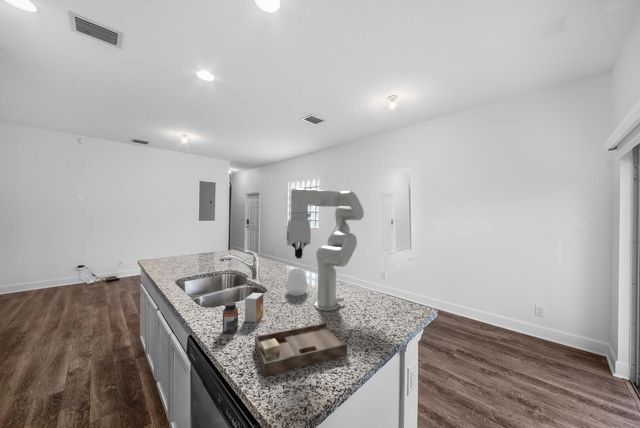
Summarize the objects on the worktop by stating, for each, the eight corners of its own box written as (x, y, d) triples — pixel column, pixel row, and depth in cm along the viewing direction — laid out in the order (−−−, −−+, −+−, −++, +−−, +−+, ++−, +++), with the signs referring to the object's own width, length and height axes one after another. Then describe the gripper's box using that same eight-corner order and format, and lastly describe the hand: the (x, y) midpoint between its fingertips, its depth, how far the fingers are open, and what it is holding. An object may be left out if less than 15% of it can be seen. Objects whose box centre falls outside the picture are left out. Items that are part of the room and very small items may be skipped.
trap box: (325, 332, 102) (325, 322, 101) (347, 355, 86) (347, 344, 86) (254, 347, 90) (254, 336, 90) (264, 377, 74) (264, 363, 74)
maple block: (274, 346, 86) (274, 338, 86) (279, 354, 82) (279, 345, 81) (260, 350, 83) (260, 341, 83) (264, 358, 79) (265, 349, 79)
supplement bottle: (225, 327, 104) (225, 300, 104) (239, 326, 105) (239, 300, 105) (220, 334, 99) (220, 306, 98) (235, 333, 99) (236, 306, 99)
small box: (255, 322, 109) (256, 299, 109) (244, 321, 110) (244, 298, 110) (263, 315, 117) (263, 293, 117) (252, 314, 118) (253, 292, 118)
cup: (282, 290, 152) (283, 268, 151) (303, 288, 157) (303, 266, 157) (289, 298, 139) (289, 273, 139) (311, 295, 145) (311, 271, 144)
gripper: (311, 216, 115) (311, 255, 115) (280, 216, 109) (279, 257, 109) (318, 216, 108) (317, 258, 109) (285, 216, 102) (284, 260, 102)
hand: (298, 257), depth 109 cm, fingers closed
